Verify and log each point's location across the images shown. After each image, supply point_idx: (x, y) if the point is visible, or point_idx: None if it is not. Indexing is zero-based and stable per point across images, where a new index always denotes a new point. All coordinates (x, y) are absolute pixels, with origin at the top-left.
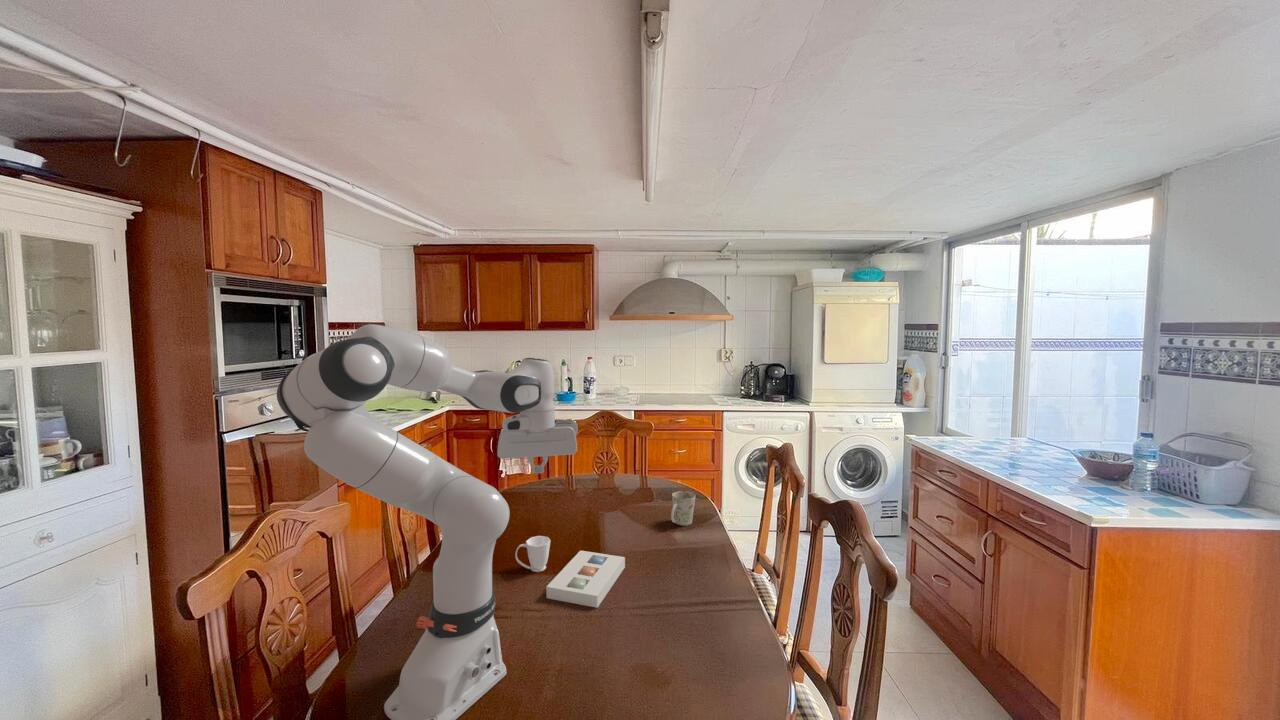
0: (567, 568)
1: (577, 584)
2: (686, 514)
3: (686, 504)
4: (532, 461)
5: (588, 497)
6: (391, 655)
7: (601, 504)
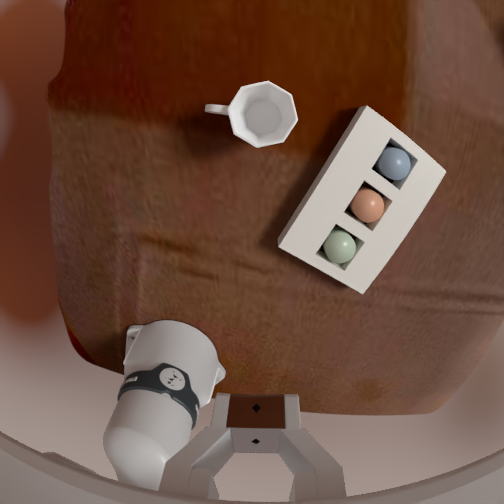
0: (328, 184)
1: (338, 256)
2: None
3: None
4: (206, 455)
5: None
6: (92, 314)
7: None
